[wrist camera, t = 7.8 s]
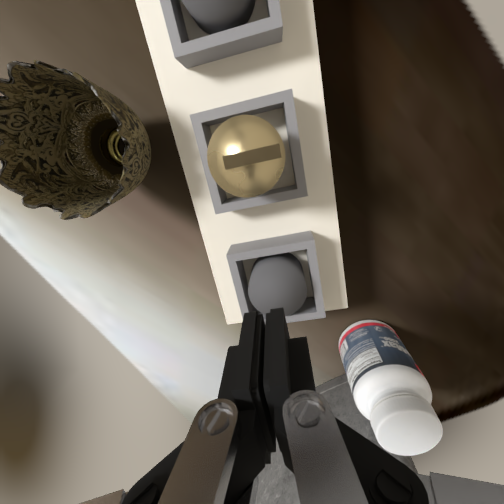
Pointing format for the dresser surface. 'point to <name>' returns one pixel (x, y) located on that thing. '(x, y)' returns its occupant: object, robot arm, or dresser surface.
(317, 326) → the dresser surface
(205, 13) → the button
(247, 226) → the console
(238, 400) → the robot arm
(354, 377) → the pill bottle
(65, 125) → the olive hollow bell-shaped piece
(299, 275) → the button
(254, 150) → the brass knob
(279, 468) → the flask
